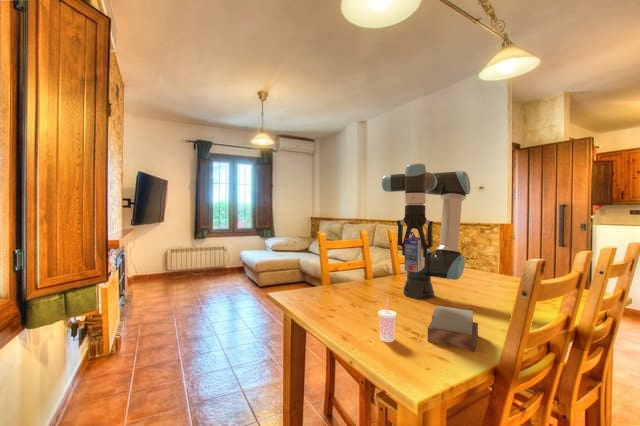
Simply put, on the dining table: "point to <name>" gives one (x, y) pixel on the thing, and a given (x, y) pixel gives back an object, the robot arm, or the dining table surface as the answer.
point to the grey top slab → (452, 319)
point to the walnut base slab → (454, 338)
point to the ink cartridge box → (413, 254)
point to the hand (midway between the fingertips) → (414, 264)
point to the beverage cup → (387, 324)
